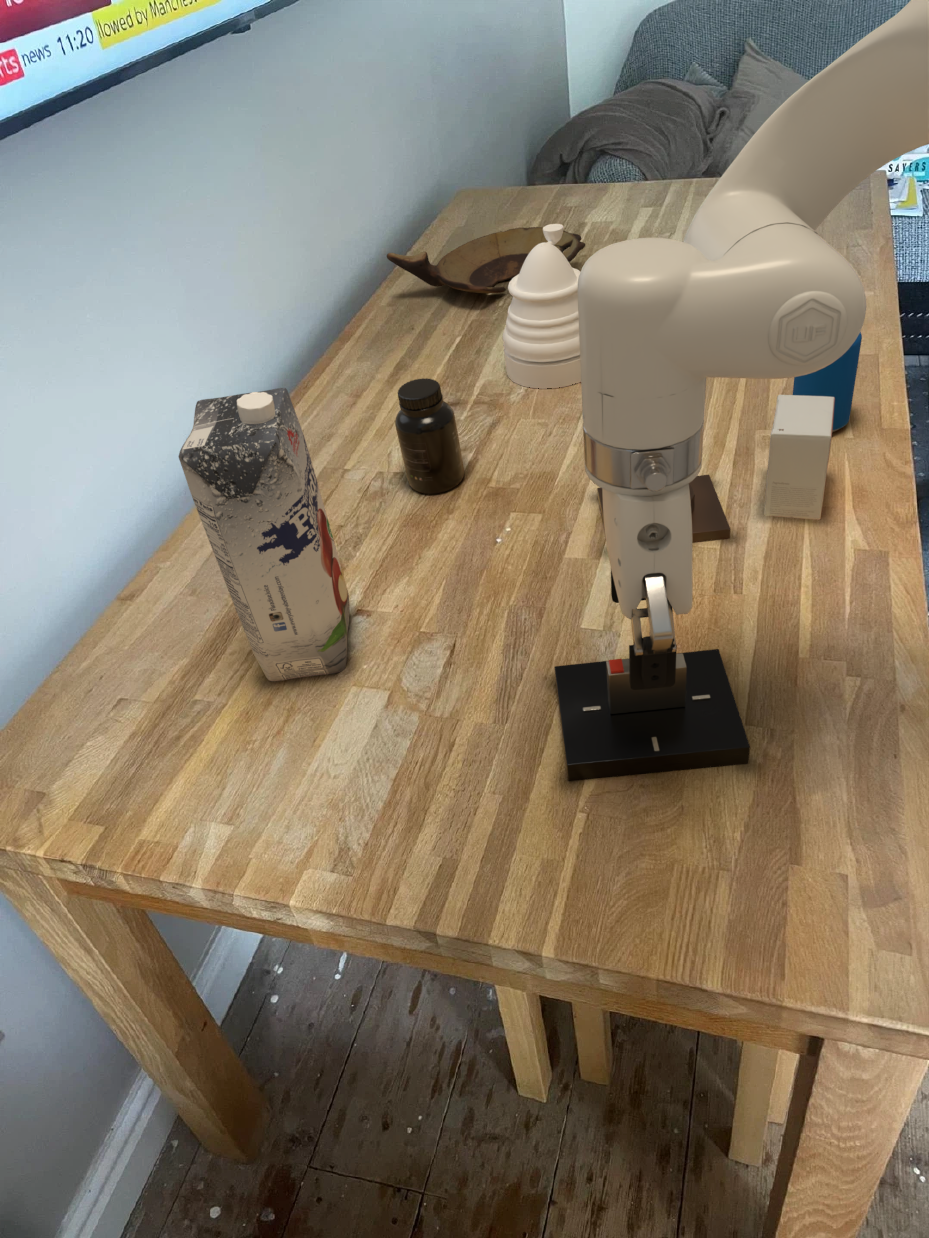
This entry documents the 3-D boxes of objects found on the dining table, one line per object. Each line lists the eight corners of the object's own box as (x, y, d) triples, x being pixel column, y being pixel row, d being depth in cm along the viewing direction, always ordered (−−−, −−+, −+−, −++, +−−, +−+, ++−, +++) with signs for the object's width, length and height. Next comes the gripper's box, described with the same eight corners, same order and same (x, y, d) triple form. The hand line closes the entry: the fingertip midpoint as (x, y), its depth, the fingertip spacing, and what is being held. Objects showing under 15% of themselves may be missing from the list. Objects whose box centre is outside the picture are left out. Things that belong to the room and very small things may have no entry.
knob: (681, 692, 76) (682, 650, 73) (685, 706, 75) (686, 664, 72) (607, 700, 77) (605, 658, 74) (610, 714, 76) (608, 672, 73)
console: (717, 673, 82) (718, 647, 80) (747, 772, 73) (750, 745, 71) (556, 690, 83) (554, 664, 81) (569, 789, 74) (566, 763, 72)
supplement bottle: (430, 459, 115) (414, 368, 107) (476, 471, 111) (462, 379, 103) (396, 488, 111) (376, 396, 103) (442, 501, 107) (425, 408, 100)
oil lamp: (570, 311, 141) (567, 260, 136) (385, 313, 150) (375, 265, 145) (596, 253, 157) (594, 206, 152) (427, 258, 166) (420, 213, 161)
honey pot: (549, 337, 136) (538, 208, 124) (619, 358, 128) (616, 223, 116) (487, 373, 130) (470, 242, 118) (557, 398, 122) (546, 260, 110)
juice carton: (260, 697, 87) (160, 445, 70) (272, 622, 95) (184, 380, 77) (354, 684, 87) (277, 427, 69) (358, 611, 95) (290, 364, 77)
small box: (819, 528, 95) (832, 437, 88) (761, 523, 97) (770, 434, 90) (824, 483, 100) (836, 395, 93) (769, 480, 102) (777, 392, 95)
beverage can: (842, 407, 111) (856, 310, 103) (853, 436, 106) (869, 336, 98) (785, 411, 112) (795, 315, 104) (794, 439, 107) (805, 341, 99)
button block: (708, 491, 102) (709, 459, 99) (729, 546, 95) (731, 513, 92) (597, 504, 103) (596, 473, 100) (609, 560, 95) (608, 528, 93)
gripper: (732, 515, 54) (715, 719, 65) (676, 376, 67) (670, 565, 78) (600, 529, 54) (606, 729, 65) (570, 388, 67) (579, 574, 78)
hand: (641, 640), depth 71 cm, fingers open, 9 cm apart
